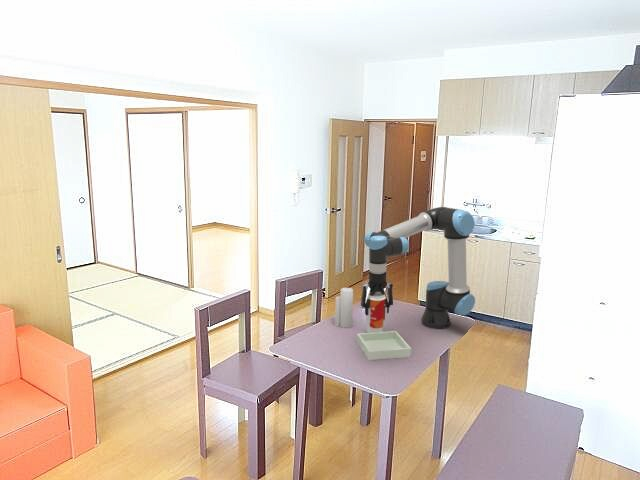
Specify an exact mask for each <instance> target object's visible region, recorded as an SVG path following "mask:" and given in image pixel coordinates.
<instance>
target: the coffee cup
mask: <svg viewBox="0 0 640 480" xmlns="http://www.w3.org/2000/svg"><path fill="white" fill-rule="evenodd" d="M385 295H386V294H385ZM385 295H382V294H381V292H377V293H375V294H374V295H373V296H370V295H369V293H368V294H367V295H366V299H367V298H368V299H370V306H369V308H370V323H369V324H370V327H372V328H382V327H383V328H384V321H383V320H384V308H385V299H386V297H387V296H386V297H385Z"/></svg>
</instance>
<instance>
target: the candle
mask: <svg viewBox="0 0 640 480" xmlns="http://www.w3.org/2000/svg"><path fill="white" fill-rule="evenodd" d="M334 299H335V303H334V326H336V327H341V328H343V329H349V328H352V327H353V315H354V314H353V313H354V312H353V307H354V305H353V304H354V289H353V288H351V287H342V288H340V296H339V295H338V296H335V298H334Z"/></svg>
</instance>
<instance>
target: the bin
mask: <svg viewBox="0 0 640 480" xmlns="http://www.w3.org/2000/svg"><path fill="white" fill-rule="evenodd" d="M356 342H357V344H358V346H359V347H360V349H361V350H362V352H363V354H364V355H365V357H366V358H367V360H368V361H375V360H376V361H377V360H388V359H400V358H401V359H402V358H411V357H412V347H410V345H409V344H408V343H407V342H406V340H405V339H404V338H403V337H402V336H401V335H400V334H399V333H398V331H397V330H390V331H383V332H375V333H367V332H365V333H364V332H362V333H356Z"/></svg>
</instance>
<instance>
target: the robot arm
mask: <svg viewBox="0 0 640 480" xmlns="http://www.w3.org/2000/svg"><path fill="white" fill-rule="evenodd" d="M474 229H475V218H474V216H473V214H471V213H470V211H467V210H464V209H459V208H452V207H446V206H439V207H434V208H431V209H427V210H424V211H423V212H421V213H419V214H418V216H415V217H413V218H412V217H411V218H410V219H408V220H405V221H403V222H401V223H397V224H395V225H393V226H391V227H388V228H387V227H386V228H385V229H383V230H380V231H377V232H376V231H368V232H367V233H366V234H365V236H364V239H363V240H364V244H365V245H366V247H368V248H369V249H368V251H369V252H368V261H369V262H368V270H369V272H368V283H367V284H362V285H361V288H362V290H361V301H360V306H361V307H362V308H363V309H364V314H365V316H366V315H367V321H368V323H370V308H369V306H370V299H368V298H367V296H368V294H369V295H370V296H373V295H374V294H375V293H377V292H381V294H382V295H385V297H386V299H385V308H384V321H383V322H387V320H388V319H387V318H388V314H389V312H390V306H393V305H394V297H393V286H394V284H393V283H392V282H387V266H388V265H387V262H388V260H387V259H388V257H393V256H399V255H400V256H401V255H403V254H405V253H407V252H408V251H409V249H410V243H409V240H408V239H407V238H409V237H411V236H414V235H416V234H419V233H420V232H423V231H425V232H428V231H431V230H439V231H442V232H443V235H444V236H443V237H444V238H445V240H446V241H447V261H448V262H447V263H448V264H447V265H448V268H447V269H448V281H445V280H435V281H430V282H428V283H427V285H426V289H425V290H426V291H425V292H426V294H425V307H424V311H423V314H422V316H421V319H420V320H421V325H423V326H424V327H427V328H429V329H431V328H432V329H439V330H441V329H446V328H449V327H450V326H451V318H450V314H449V312H452V313H453V314H455V315H459V316H467V315H468V314H470V313H471V312H472V310H473V309H474V307H475V303H476V298H475V296H474V295H473V294H472V293H471V291H470V289H471V288H470V286H469V285H468V284H467V283H468V282H467V239H469V238H470V235H471V234H472V233H473V231H474ZM368 288H369V292H368ZM385 288H387V294H386V290H385ZM367 293H368V294H367ZM387 296H388V297H387Z"/></svg>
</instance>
